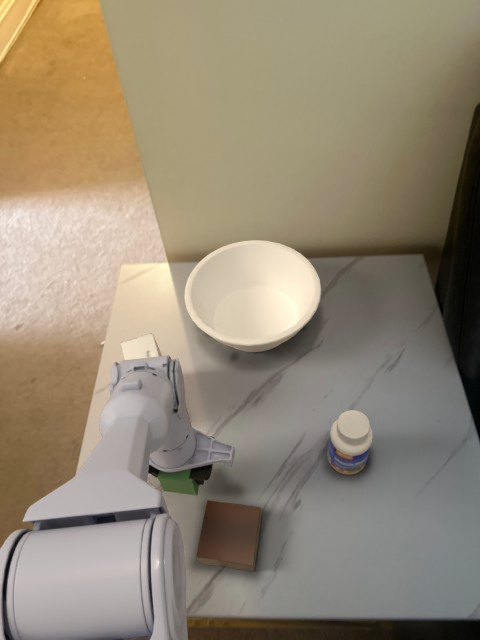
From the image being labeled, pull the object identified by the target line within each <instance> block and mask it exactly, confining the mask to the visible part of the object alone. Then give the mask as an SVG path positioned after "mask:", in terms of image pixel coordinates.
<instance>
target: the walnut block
mask: <svg viewBox="0 0 480 640" xmlns="http://www.w3.org/2000/svg"><path fill="white" fill-rule="evenodd" d="M262 511H263V510H262V507H259V506H253V505H246V504H238V503H230V502H223V501H217V500H216V501H215V500H209V499H207V500H206V504H205V508H204V514H203V519H202V523H201V524H202V525H201V528H200V535H199V540H198V545H197V549H196V555H195V558H196V560H197V561H198V563H199V564H201V565H208V566H216V567H222V568H228V569H234V570H241V571H247V572H255V571H256V563H257V556H258V548H259V543H260V533H261V527H262V519H263V512H262Z"/></svg>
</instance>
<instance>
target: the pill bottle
mask: <svg viewBox="0 0 480 640" xmlns="http://www.w3.org/2000/svg"><path fill="white" fill-rule="evenodd" d="M329 431H330V432H329V438H328V444H327V453H326V455H327V461H328V463H329V465H330V466H331V467H332V469H333V470H335V471H336V472H338V473H340V474H343V475H355V474H358V473H359V472H361V471H362V470H363V469H364V468H365V466H366V464H367V461H368V458H369V454H370V450H371V447H372V443H373V440H374V439H373V437H374V434H373V433H374V432H373V430H372V427H371V424H370V421H369V418H368V417H367V415H365V413H363V412H361V411H359V410H355V409H350V410H346V411H344V412H342V413H341V414H340V415H339V417H338V418H337V419H336V420H334V422H333V424H332V425H331V428H330V430H329Z"/></svg>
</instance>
